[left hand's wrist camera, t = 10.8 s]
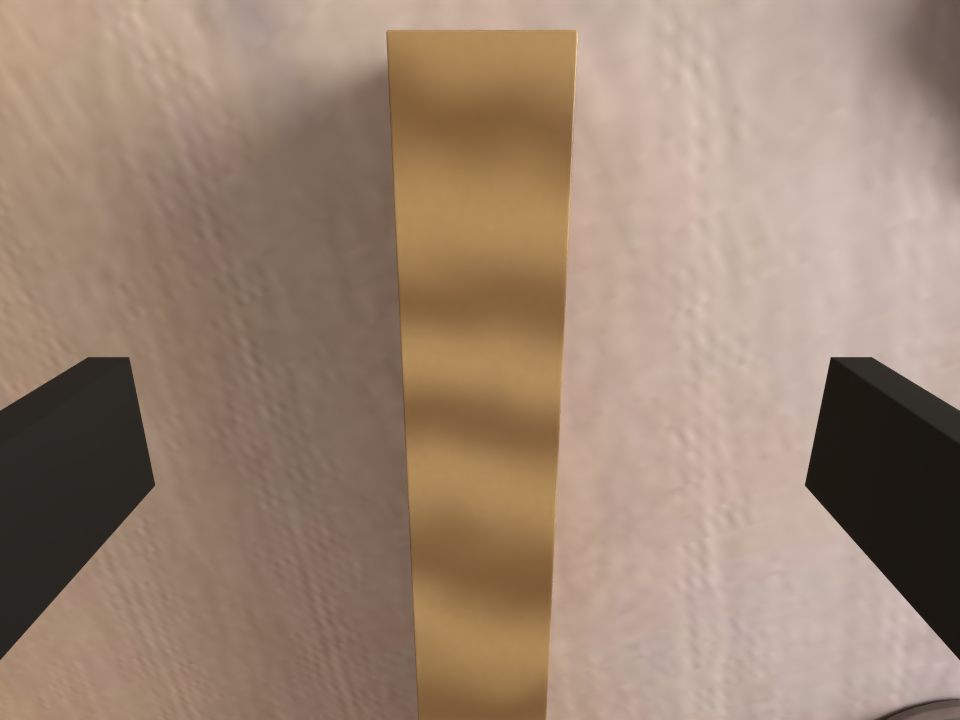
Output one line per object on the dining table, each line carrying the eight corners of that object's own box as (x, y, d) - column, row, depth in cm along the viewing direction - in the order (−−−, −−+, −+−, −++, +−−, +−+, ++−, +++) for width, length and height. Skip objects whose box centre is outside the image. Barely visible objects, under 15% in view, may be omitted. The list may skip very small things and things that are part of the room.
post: (413, 55, 26) (385, 30, 19) (550, 55, 26) (578, 29, 19) (443, 958, 48) (436, 1117, 40) (520, 958, 48) (527, 1117, 40)
